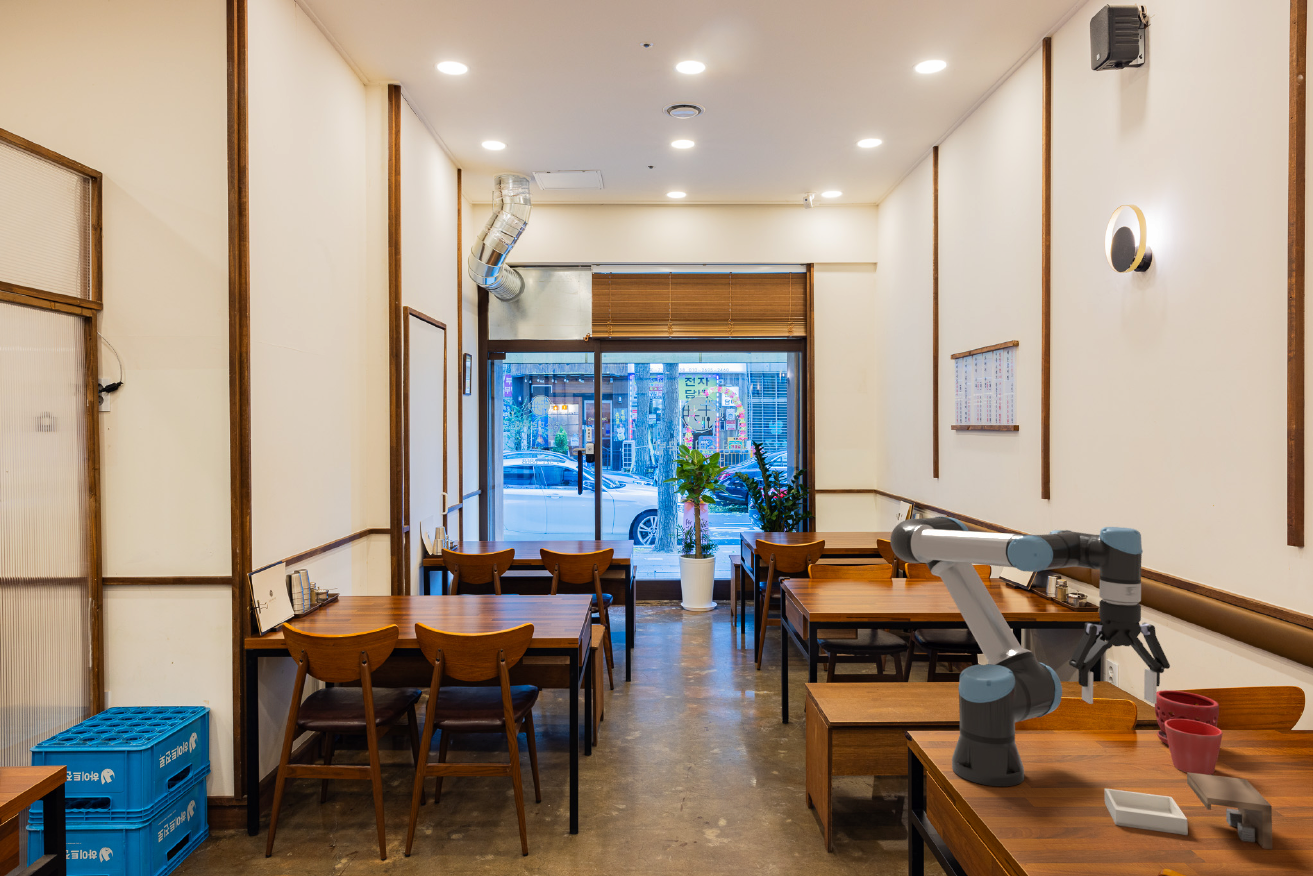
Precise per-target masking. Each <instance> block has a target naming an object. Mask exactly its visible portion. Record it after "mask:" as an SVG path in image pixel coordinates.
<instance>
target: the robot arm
mask: <svg viewBox="0 0 1313 876" xmlns="http://www.w3.org/2000/svg"><path fill="white" fill-rule="evenodd" d="M889 540H890V542H889V543H890V546H891V549H892V552H893V553H894V554H895V556H896V557H897V558H898V559H900V560H901V561H904V562H906V563H908V564H909V563H910V564H923V563H924V564H926V566H927V567H928V569H929V571H930V573H931V575H933V576H936V577H940V579H941V581H942V583H943V585H944V587H946V590H947V591H948V592H949V595H950V596H951V598H952V600H953V602H954V604H955V605H956V607H957V609H958V611H959V612H960V615H961V616H962V618H963V620H964V622H965V623H966V625H967V627H968V629H969V631H970V632H971V633H972V635H973V637H974V639H975V641H976V642H977V644H978V647H979V648H980V650H981V651H982V653H983V655H984V657H985V659H986V660H987V663H986V664H975V665H971V666H968V667H965V668H964V669H963V670H962V671H961V673H960V674H959V681H958V682H959V684H958V700H959V701H958V704H959V705H958V707H959V709H958V710H959V736H958V738H957V742H956V745H955V748H954V752H953V753H952V757H951V769H952V771H953V772H954V773H955V774H956V775H957V776H959V777H960V778H962V779H965V780H967V781H970V782H972V783H976V784H980V785H984V786H989V787H990V786H991V787H1012V786H1017V785H1019V784H1021V783H1023V782H1024V780H1025V768H1024V765H1023V761H1022V759H1021V756H1020V752H1019V750H1018V747H1017V744H1016V723H1019V722H1023V721H1026V720H1029V719H1030V720H1031V719H1034V718H1041V717H1042V718H1043V716H1047V715H1048V714H1050V713H1053V712H1054V711H1055V710H1056V709H1057V708H1059V706H1060V703H1061V702H1062V696H1063V686H1062V682H1061V680H1060V678H1059V675H1058V674H1057V672H1056V671H1055V670H1054V669H1053V668H1052V667H1051V666H1049V665H1046V664H1045V663H1043V662H1039V661H1038V660H1037V658H1036V656H1035V655H1034V653H1033V652H1032V650H1029V649H1027V648H1024V647H1022V646H1021V644H1020V643H1019V641H1018V638H1017V637H1016V636H1015V634H1014V632H1013V630H1012V629H1011V627H1010V626H1009V624H1008V623H1007V621H1006V619H1005V618H1004V615H1003V614H1002V612H1001V611H1000V609H999V608H998V605H997V604H996V602H995V600H994V599H993V597H992V595H991V594H990V592H989V590H988V588H987V587H986V585H985V583H984V582H983V580H982V578H981V577H980V575H979V573H978V572H977V570H976V569H975V566H974V565H973V564H975V565H985V566H995V567H996V566H997V567H1007V568H1015V569H1017V570H1020V571H1022V572H1028V573H1029V572H1033V573H1037V572H1040V571H1046V570H1053V569H1056V570H1057V569H1063V568H1071V567H1072V568H1073V567H1078V568H1079V567H1080V568H1086V569H1092V570H1098V571H1099V598H1101V600H1099V604H1098V605H1099V610H1098V611H1099V612H1098V613H1099V615H1098V616H1099V618H1100V622H1099V624H1093V623H1091V622H1085V623H1084V629H1083V634H1082V635H1081V638H1080V640H1079V642H1078V644H1077V646H1076V648H1075V649H1074V651H1073V654H1072V655H1071V658H1070V659H1069V662H1068V664H1069V666H1072V667H1073V668H1075V669H1077V670H1078V684H1079V685H1080V686H1081V700H1082V701H1084V702H1086V703H1087V704H1089V705H1090V704H1091V705H1092V704H1094V672H1093V671H1091V669H1092V668H1093V667H1094V666H1095V665H1096V664H1097V662H1099V660H1100V659H1101V658H1102V656H1103V655H1104V654H1105V653H1106V652H1107V651H1108V650H1109V649H1111V648H1112V647H1113V646H1114V647H1122V646H1124V647H1131V648H1132V649H1133V650H1134V651H1135V652H1136V654H1137V655H1138V657H1140V659H1141V660H1142V661H1143V662H1144V664H1145V665H1146V666H1147V667H1148V668H1144V680H1143V681H1144V689H1143V694H1144V695H1143V699H1144V700H1145V701H1147V702H1149V703H1150V704H1153V705H1155V704H1156V693H1157V692H1158V691H1157V688H1158V687H1160V686H1161V685H1160V683H1161V682H1160V681H1161V674H1164V672H1165V670H1169V669H1170V667H1171V665H1170V663H1169V660H1168V658H1167V656H1166V655H1165V651H1164V650H1163V648H1162V646H1161V643H1160V641H1159V639H1158V637H1157V636H1156V627H1155V625H1152V624H1150V623H1147V622H1142V624H1140V622H1141V621H1142V620H1141V619H1142V606H1141V604H1140V602H1141V601H1142V556H1143V555H1142V554H1143V552H1144V551H1143V548H1142V534H1141V532H1140V531H1139V530H1137V529H1135V528H1131V527H1119V526H1104V527H1102V528H1101V529H1100V531H1099V534H1093V533H1092V534H1091V533H1085V532H1077V531H1073V530H1068V529H1065V530H1062V529H1061V530H1058V529H1055V530H1051V531H1049V533H1048V534H1025V533H1021V534H1019V533H1006V532H1005V533H1002V532H990V531H989V532H986V531H973V530H972V531H970V530H969V528H968V527H967V526H966V524H965V523H964V522H962V521H961V520H959V519H957V518H956V517H955V518H954V517H950V516H949V517H948V516H935V517H928V518H927V517H926V518H925V517H924V518H923V517H922V518H909V519H905V520H903V521H900V523H898V524H897V525H895V527H894V528H893V529H892V532H891V534H890V539H889ZM1099 633H1100V635H1099ZM1140 634H1142V635H1143V638H1144V641H1145V642H1146V644H1147V647H1148V649H1149V650H1150V652H1149V651H1148V650H1147V648H1146V647H1145V645H1144V643H1143V642H1142V641H1141V639H1139V635H1140ZM1098 635H1099V636H1098ZM1097 636H1098V637H1097ZM1095 641H1096V642H1095Z"/></svg>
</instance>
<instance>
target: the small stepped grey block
mask: <svg viewBox="0 0 1313 876" xmlns="http://www.w3.org/2000/svg"><path fill="white" fill-rule="evenodd" d="M1225 812H1226V815H1225V817H1226V819H1225V821H1226V823H1228V825H1229V826H1230V827H1236V828H1237V837H1239V839H1240V840H1241V841H1242V842H1249V843H1256V839H1255V829H1254V828H1253V827H1252V825H1251V824H1246V823H1242V814H1241V813H1240V811H1239V810H1238V809H1235V808H1234V809H1233V808H1226V809H1225Z"/></svg>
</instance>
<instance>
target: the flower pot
mask: <svg viewBox="0 0 1313 876" xmlns="http://www.w3.org/2000/svg"><path fill="white" fill-rule="evenodd" d="M1165 730H1166V735H1167V740H1168V748H1169V753H1170V756H1171V761H1172V765H1173V766H1174V768H1176V769H1177V770H1179V771H1180V772H1184V773H1186V774H1187V772H1189V773H1197V774H1206V775H1214V773H1215V770H1216V766H1217V761H1218V758H1219V755H1220V753H1219V752H1220V748H1221V744H1222V741H1223V740H1222V739H1223V731H1222V730H1221V729H1220V728H1219V727H1214V726H1212V725H1209V724H1206V723H1203V722H1199V721H1194V720H1188V719H1170V720H1167V721H1165Z"/></svg>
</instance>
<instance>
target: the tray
mask: <svg viewBox="0 0 1313 876" xmlns="http://www.w3.org/2000/svg"><path fill="white" fill-rule="evenodd" d="M1104 804H1105V806H1106V808H1107V810H1108V813H1109V815H1110V816H1111V818H1112V821H1113V823H1114V824H1115V826H1120V827H1128V828H1135V829H1140V830H1147V831H1148V830H1149V831H1154V832H1162V833H1170V834H1178V835H1184V836H1188V831H1189V830H1188V818H1187V817H1186V816H1185V814H1184V812H1183V811H1182V810H1181V808H1180V807H1179V805H1178V804H1177V803H1176V800H1175V799H1173V797H1172V796H1168V795H1160V794H1158V795H1157V794H1153V793H1144V792H1138V791H1137V792H1136V791H1135V792H1134V791H1128V790H1127V791H1126V790H1121V789H1113V788H1105V787H1104Z"/></svg>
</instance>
